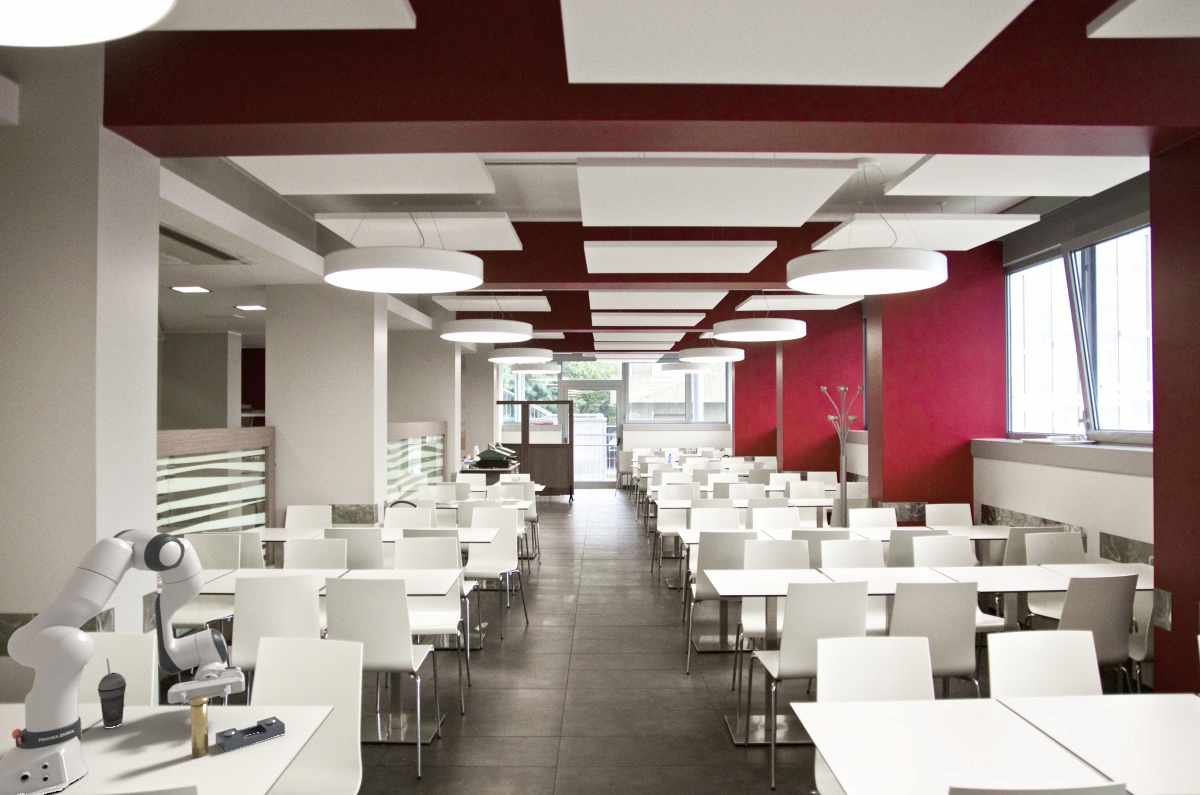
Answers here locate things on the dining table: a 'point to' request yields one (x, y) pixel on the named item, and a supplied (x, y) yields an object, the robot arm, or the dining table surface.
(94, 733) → the dining table surface
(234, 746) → the slotted clamp bar
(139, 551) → the robot arm
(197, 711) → the pin
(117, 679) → the beverage cup
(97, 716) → the dining table surface
